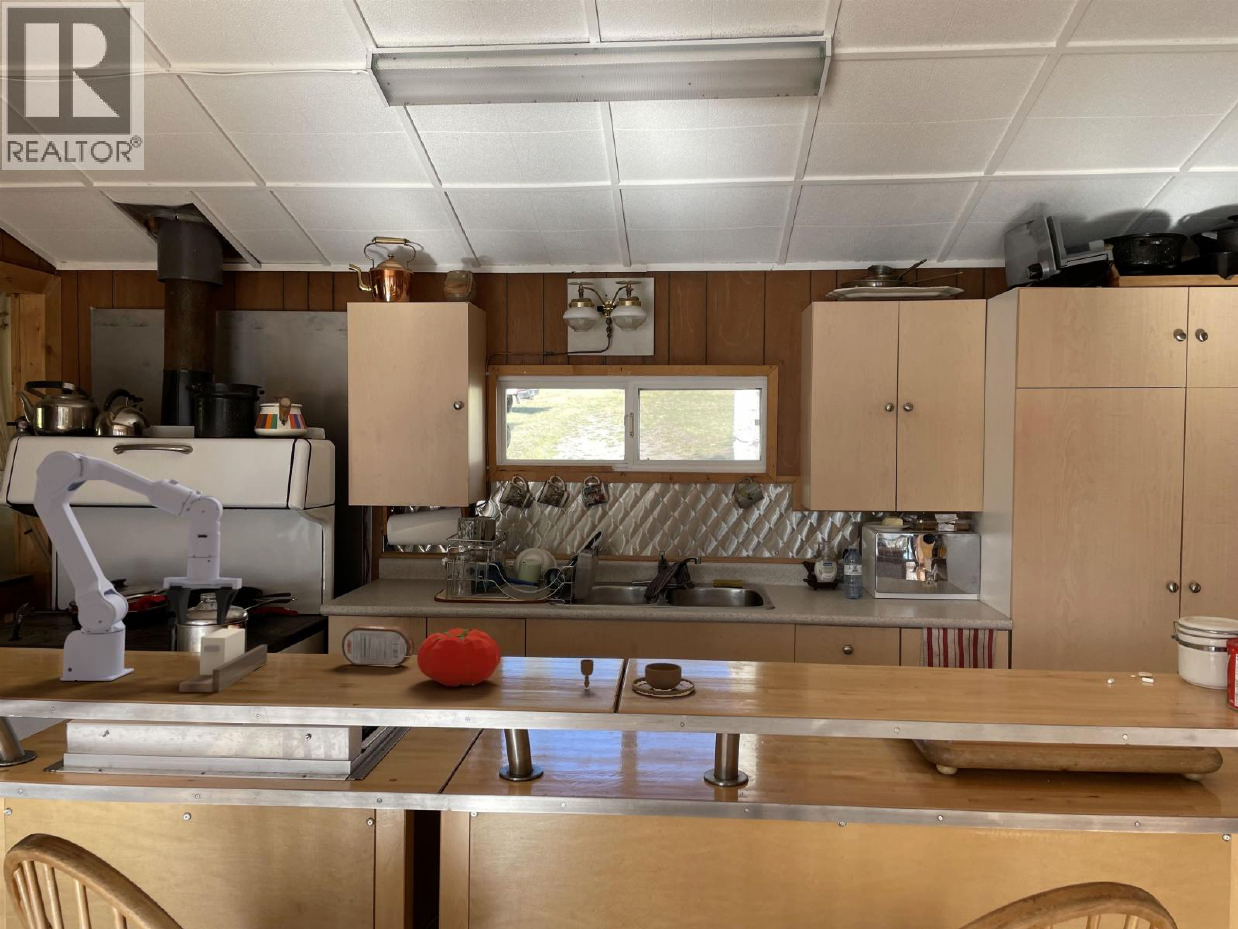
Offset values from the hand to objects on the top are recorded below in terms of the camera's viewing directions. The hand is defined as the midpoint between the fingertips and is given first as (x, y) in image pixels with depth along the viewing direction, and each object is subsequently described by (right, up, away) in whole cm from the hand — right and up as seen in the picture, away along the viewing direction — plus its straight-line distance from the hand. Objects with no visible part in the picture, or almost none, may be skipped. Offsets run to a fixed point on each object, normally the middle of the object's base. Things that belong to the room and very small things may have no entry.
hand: (201, 624), depth 160 cm
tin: (+33, -10, +7) cm, 35 cm away
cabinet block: (+7, -8, -5) cm, 11 cm away
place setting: (+88, -11, -7) cm, 89 cm away
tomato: (+53, -10, -6) cm, 54 cm away
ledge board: (+7, -9, -5) cm, 13 cm away
